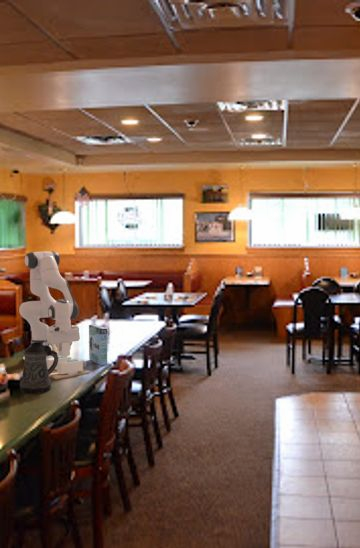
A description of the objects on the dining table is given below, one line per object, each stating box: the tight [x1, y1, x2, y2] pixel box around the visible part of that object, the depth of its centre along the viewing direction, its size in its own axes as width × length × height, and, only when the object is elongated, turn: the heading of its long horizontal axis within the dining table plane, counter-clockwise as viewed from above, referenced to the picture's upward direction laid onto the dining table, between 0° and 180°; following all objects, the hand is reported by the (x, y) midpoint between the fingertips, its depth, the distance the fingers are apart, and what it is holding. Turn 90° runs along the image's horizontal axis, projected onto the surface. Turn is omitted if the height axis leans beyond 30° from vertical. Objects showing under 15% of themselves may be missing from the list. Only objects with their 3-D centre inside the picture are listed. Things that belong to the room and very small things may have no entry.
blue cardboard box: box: [88, 324, 108, 366], centre depth 401 cm, size 20×5×23 cm, turn 29°
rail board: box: [46, 355, 90, 380], centre depth 372 cm, size 20×22×8 cm
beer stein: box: [19, 343, 59, 395], centre depth 335 cm, size 16×19×25 cm
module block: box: [57, 342, 71, 357], centre depth 371 cm, size 5×5×8 cm
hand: (63, 350), depth 372 cm, fingers closed on module block, 5 cm apart
